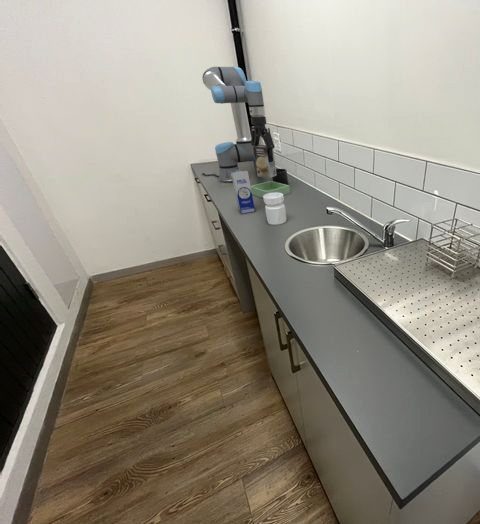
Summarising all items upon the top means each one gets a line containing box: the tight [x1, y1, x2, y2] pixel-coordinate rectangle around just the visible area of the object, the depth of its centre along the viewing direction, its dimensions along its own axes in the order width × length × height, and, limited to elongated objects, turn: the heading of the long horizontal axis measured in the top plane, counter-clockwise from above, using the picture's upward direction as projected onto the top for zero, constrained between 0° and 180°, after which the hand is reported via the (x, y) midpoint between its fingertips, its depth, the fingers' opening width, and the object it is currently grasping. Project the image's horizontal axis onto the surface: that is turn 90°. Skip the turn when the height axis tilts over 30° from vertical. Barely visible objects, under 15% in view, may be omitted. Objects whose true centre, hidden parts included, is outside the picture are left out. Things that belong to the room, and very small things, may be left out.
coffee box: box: [253, 144, 277, 179], centre depth 162 cm, size 9×6×16 cm
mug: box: [271, 168, 289, 185], centre depth 186 cm, size 9×12×9 cm
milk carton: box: [231, 169, 256, 215], centre depth 141 cm, size 7×7×20 cm
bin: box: [250, 180, 291, 199], centre depth 170 cm, size 18×16×4 cm
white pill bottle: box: [262, 193, 287, 226], centre depth 131 cm, size 9×9×12 cm
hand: (264, 160), depth 162 cm, fingers closed on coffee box, 10 cm apart
